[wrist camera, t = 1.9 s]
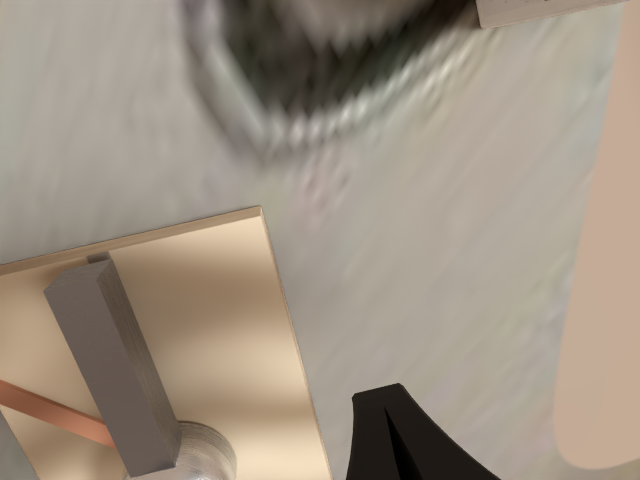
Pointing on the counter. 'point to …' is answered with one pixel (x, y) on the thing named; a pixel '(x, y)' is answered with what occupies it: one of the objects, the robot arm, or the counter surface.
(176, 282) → the cutting board
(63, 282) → the grey bar with knob
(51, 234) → the counter surface
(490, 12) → the syrup box
